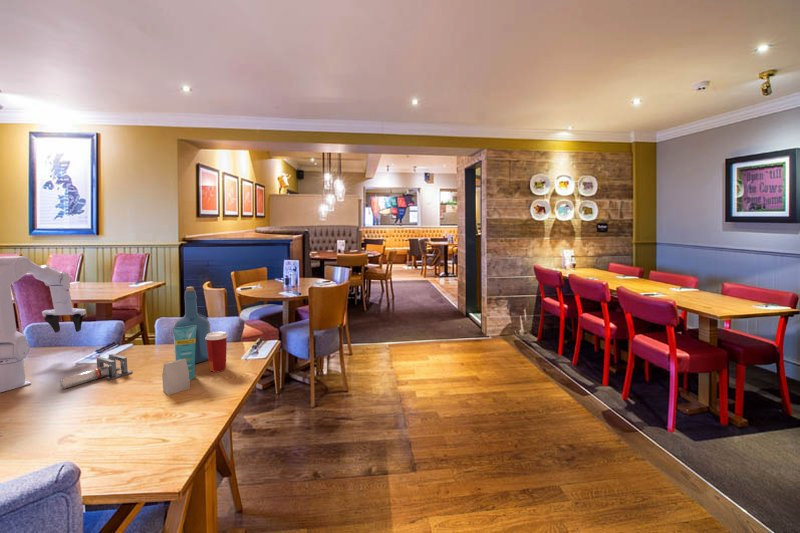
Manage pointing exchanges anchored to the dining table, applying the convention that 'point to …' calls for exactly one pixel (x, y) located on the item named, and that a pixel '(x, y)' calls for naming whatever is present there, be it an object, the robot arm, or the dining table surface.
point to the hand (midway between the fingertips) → (68, 331)
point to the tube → (186, 346)
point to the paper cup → (216, 350)
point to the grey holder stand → (110, 367)
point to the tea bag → (175, 376)
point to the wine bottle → (195, 319)
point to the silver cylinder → (84, 377)
